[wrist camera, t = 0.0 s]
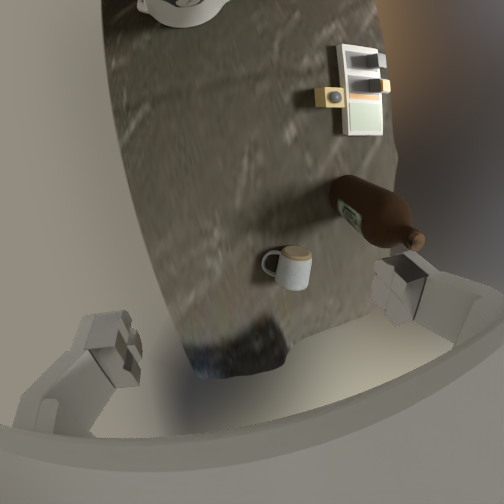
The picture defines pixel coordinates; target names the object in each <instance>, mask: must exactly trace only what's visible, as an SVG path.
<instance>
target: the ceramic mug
mask: <svg viewBox="0 0 504 504" xmlns="http://www.w3.org/2000/svg"><path fill="white" fill-rule="evenodd" d="M270 254H279V255H280V256H279V260H278V266H277V270H276V273H274V272H272V271H270V270H268V269H267V268H266V267H265V261H266V259H267V258H268V255H270ZM311 264H312V254H311V252H310V251H309V250H307V249H306V248H303V247H300V246H287V247H284V248H283V249H282V250H281V251H277V250H274V251H269V252H267V253H266V254H265V255H264V257H263V259H262V268H263V270H264V271H265V272H266V273H267V274H269V275H271V276H273V277H275V282H276V283H277V284H278V285H279V286H280V287H282V288H284V289H287V290H293V291H299V290H303V289H305V288H306V287H307V286H308V281H309V275H310V269H311Z"/></svg>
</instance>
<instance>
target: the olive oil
mask: <svg viewBox="0 0 504 504" xmlns="http://www.w3.org/2000/svg"><path fill="white" fill-rule="evenodd" d="M330 202H331V205H332V207H333V208H334V210H335V211H336V212H338V213H339V214H340V215H341V216H342V217H343V218H344V219H345V220H347V221H348V222H349V223H350V224H351V225H352V226H353V227H354V228H355V229H356V230H357V231H358V232H359V233H360V234H361V235H362V236H363V237H364V238H365V239H366V240H367V241H368V242H370V243H371V244H373V245H375V246H377V247H381V248H392V247H395V246H397V245H399V244H401V243H403V244H404V245H405V246H406V247H407V248H409V249H411V250H412V251H415V252H416V251H419V250H420V249H421V248H422V246H423V244H424V241H425V238H424V236H423V235H422V234H421V233H420V232H419V231H418V230H416V229H415V228H413V227H412V213H411V210H410V208H409V206H408V204H407V203H406V202H405V200H404V199H403V198H402V197H401V196H399V195H398V194H396V193H394V192H391V191H389V190H387V189H384V188H382V187H379V186H377V185H375V184H372V183H370V182H367V181H365V180H363V179H361V178H358V177H356V176H353V175H346V176H343V177H341V178H339V179H338V180H337V181H336V182H335V183H334V185H333V186H332V189H331V192H330Z"/></svg>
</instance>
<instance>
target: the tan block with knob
mask: <svg viewBox="0 0 504 504" xmlns="http://www.w3.org/2000/svg"><path fill="white" fill-rule="evenodd" d="M314 93H315V106H316V107H345V105H344V90H343V88H336V87H322V88H314Z"/></svg>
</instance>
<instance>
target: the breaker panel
mask: <svg viewBox="0 0 504 504" xmlns="http://www.w3.org/2000/svg"><path fill="white" fill-rule="evenodd" d="M336 50H337V59H338V69H339V80H340V88H343V90H344V105H345V107H342V127H343V134H345V135H383V119H382V95H381V93H370V88H369V79H379V78H380V69H371V68H368V64H367V55H370V54H376V53H378V49H373V48H367V47H361V46H354V45H347V44H340V45H337V46H336Z"/></svg>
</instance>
